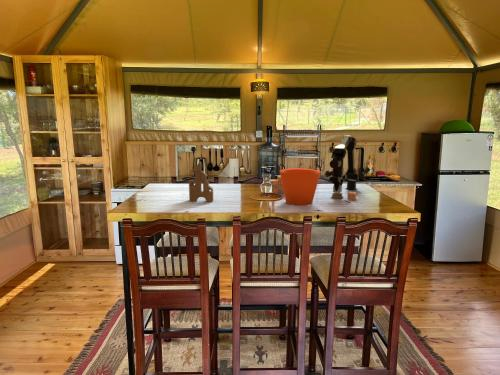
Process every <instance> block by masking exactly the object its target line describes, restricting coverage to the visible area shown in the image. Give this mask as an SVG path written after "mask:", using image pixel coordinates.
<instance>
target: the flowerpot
mask: <svg viewBox="0 0 500 375" xmlns="http://www.w3.org/2000/svg"><path fill="white" fill-rule="evenodd" d="M321 172H322V171H321V170H317V169H313V168H300V167H299V168H283V169H280V170H279V174H280V175H281V180H282V185H283V190H284V194H283V195H284V199H285V203H286V204H287V205H291V206H302V207H303V206H304V207H305V206H310V205H312V204H313V201H314V197H315V194H316V190H317V187H318V183H319V180H320V176H321V174H322V173H321Z"/></svg>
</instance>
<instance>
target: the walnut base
mask: <svg viewBox="0 0 500 375" xmlns="http://www.w3.org/2000/svg"><path fill="white" fill-rule="evenodd" d="M343 198H344V196H343V193H342V192H341V193H336V192H333V193H331V197H330V199H335V200H342V199H343Z"/></svg>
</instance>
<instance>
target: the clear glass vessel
mask: <svg viewBox="0 0 500 375" xmlns="http://www.w3.org/2000/svg"><path fill="white" fill-rule="evenodd" d="M270 182H271V184H272V192H273V193H277V194H279V195H284V190H283V185H282V180H281V175H277V178H276V179H270ZM277 194H276V195H277Z"/></svg>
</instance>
